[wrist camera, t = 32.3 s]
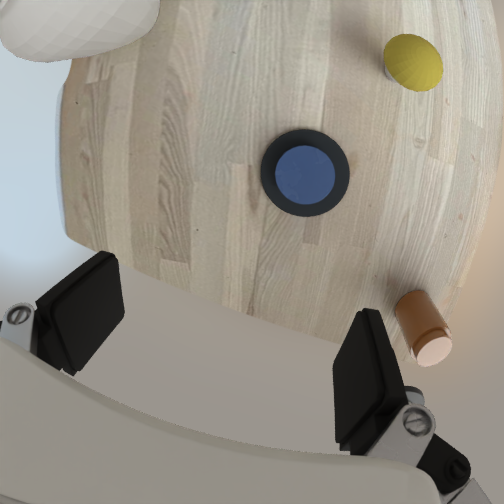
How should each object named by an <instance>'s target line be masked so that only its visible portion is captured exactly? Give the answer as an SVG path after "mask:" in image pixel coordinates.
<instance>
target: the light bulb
mask: <svg viewBox="0 0 504 504" xmlns="http://www.w3.org/2000/svg"><path fill="white" fill-rule="evenodd" d="M384 62H385V65H386V66H385V72H386V76H387V77H388V78H389V79H390V80H391V81H393V82H395V83H398V84H400V85H402V86H404V87H405V88H407V89H409V90H413V91H417V92H418V91H428V90H430V89H432V88H434V87H435V86H436V85H437V84H438V83H439V82H440V80H441V78H442V74H443V63H442V60H441V57H440V55H439V53H438V52H437V50H436V49H435V47H434V46H433V45H432V44H430V43H429V42H428V41H427V40H425V39H423V38H422V37H419V36H416V35H413V34H400V35H398V36H395V37H393V38H392V39H391V40H390V41H389V42H388V43H387V44H386V46H385V49H384Z"/></svg>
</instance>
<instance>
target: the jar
mask: <svg viewBox="0 0 504 504" xmlns="http://www.w3.org/2000/svg"><path fill="white" fill-rule="evenodd" d="M395 316H396V319H397V321H398V324H399V326H400V329H401V331H402V334H403V336H404V339H405V341H406V344H407V347H408V349H409V352H410V355H411V357H412V358H413V359H414V360H416V361H417V363H418V364H419V365H420V366H423V367H429V366H433V365H435V364H437V363H439V362H440V361H442V360H443V359H444V358H445V357H446V356H447V355H448V354H449V352H450V350H451V348H452V339H451V332H450V330H449V328H448V326H447V324H446V323H445V321H444V319H443V318H442V316H441V314H440V313H439V311H438V309H437V308H436V306H435V304H434V303H433V301H432V300H431V298H430V296H429V295H428V294H427V293H426V292H424V291H421V290H416V291H412V292H410V293H408V294H406V295H405V296H403V297H402V298H401V299H400V301H399V302H398V304H397V306H396V309H395Z"/></svg>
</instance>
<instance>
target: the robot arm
mask: <svg viewBox="0 0 504 504" xmlns="http://www.w3.org/2000/svg"><path fill="white" fill-rule="evenodd" d="M35 302H36V306H37V309H36V310H34V308H33V306H32V305H30V304H28V303H19V304H15V305H13V306H12V307H10V308H9V309H8V310H7V311H6V313H5V315H4V317H3V321H0V504H492V503H491V502H490V500H489V499H488V497H487V496H486V494H485V493H484V492H483V490H482V489H481V487H480V486H479V485H478V483H477V482H476V480H475V479H474V478H472V479H471V480H470V479H469V477H470V474H471V467H470V463H469V461H468V459H467V458H466V457H465V456H464V455H463V454H461V453H460V452H459V451H457V450H456V449H455V448H453V447H452V446H451V445H449V444H448V443H447V442H445V441H444V440H443V439H441V438H440V437H439V436H437V435H436V434H434V431H435V428H436V423H435V418H434V416H433V414H432V413H431V411H430V410H429V409H427V408H426V407H425V406H423V405H421V404H417V403H411V402H409V401H408V399H407V395H406V391H405V387H404V383H403V380H402V376H401V373H400V369H399V366H398V363H397V359H396V356H395V353H394V350H393V348H392V347H391V344H390V341H389V338H388V335H387V332H386V329H385V326H384V323H383V320H382V317H381V314H380V312H379V310H374V309H368V308H363V310H362V311H358V312H357V313H356V316H355V318H354V320H353V322H352V325H351V327H350V329H349V331H348V333H347V336H346V338H345V340H344V342H343V344H342V346H341V348H340V350H339V352H338V354H337V356H336V358H335V360H334V363H333V385H334V407H335V440H336V443H340V451H350V455H337V454H322V453H310V452H300V451H292V450H285V449H277V448H271V447H264V446H258V445H253V444H248V443H242V442H237V441H233V440H229V439H225V438H221V437H217V436H213V435H209V434H205V433H202V432H198V431H195V430H191V429H188V428H185V427H182V426H179V425H176V424H173V423H170V422H167V421H164V420H161V419H158V418H156V417H153V416H150V415H148V414H145V413H143V412H140V411H138V410H135V409H133V408H131V407H128V406H126V405H124V404H122V403H119V402H117V401H115V400H113V399H111V398H108V397H106V396H104V395H102V394H100V393H98V392H96V391H94V390H92V389H90V388H88V387H86V386H85V385H83V384H81V383H79V382H77V381H75V380H74V379H72V378H70V377H68V376H67V375H65V374H63V373H62V372H60V370H61V369H62V368H63V370H64V371H65V372H67V373H68V374H70V375H72V376H74V375H75V374H76V372H77V371H81V370H82V369H83V367H84V366H85V364H86V363H87V362H88V361H89V360H90V358H91V357H92V356H93V354H94V353H95V352H96V351H97V349H98V348H99V347H100V346H101V344H102V343H103V342H104V341H105V340H106V338H107V337H108V336H109V335H110V333H111V332H112V331H113V330H114V329H115V327H116V326H117V325H118V324H119V323H120V321H121V320H122V319H123V317H124V313H125V310H124V303H123V297H122V290H121V282H120V274H119V264H118V259H117V258H116V257H115V255H114V254H113V253H109V252H106V251H100V252H98V253H97V254H95V255H94V256H93V257H92V258H90V259H89V260H87V261H86V262H85V263H83V264H82V265H81V266H79V267H78V268H77V269H75V270H74V271H73V272H71V273H70V274H69V275H68V276H66V277H65V278H64V279H62V280H61V281H60V282H59V283H58V284H56V285H55V286H54V287H52V288H51V289H50V290H49V291H47V292H46V293H45V294H44V295H43V296H42V297H40V298H39V299H38V300H37V301H35Z"/></svg>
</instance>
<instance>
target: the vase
mask: <svg viewBox="0 0 504 504" xmlns="http://www.w3.org/2000/svg"><path fill="white" fill-rule="evenodd" d="M159 9H160V0H0V38H1V41H2V43H3V46H4V47H5V48H6V49H8V50H9V51H10V52H11V53H13V54H14V55H15V56H17V57H20V58H23V59H26V60H30V61H35V62H47V63H48V62H54V61H61V60H68V59H75V58H83V57H90V56H94V55H98V54H101V53H104V52H108V51H111V50H115V49H117V48H120V47H123V46H126V45H128V44H130V43H132V42H134V41H136V40H138V39H140V38H142V37H143V36H145V35H146V34H147V33H148V32H149V31H150V30H151V29H152V28H153V26H154V25H155V23H156V21H157V17H158V13H159Z"/></svg>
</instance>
